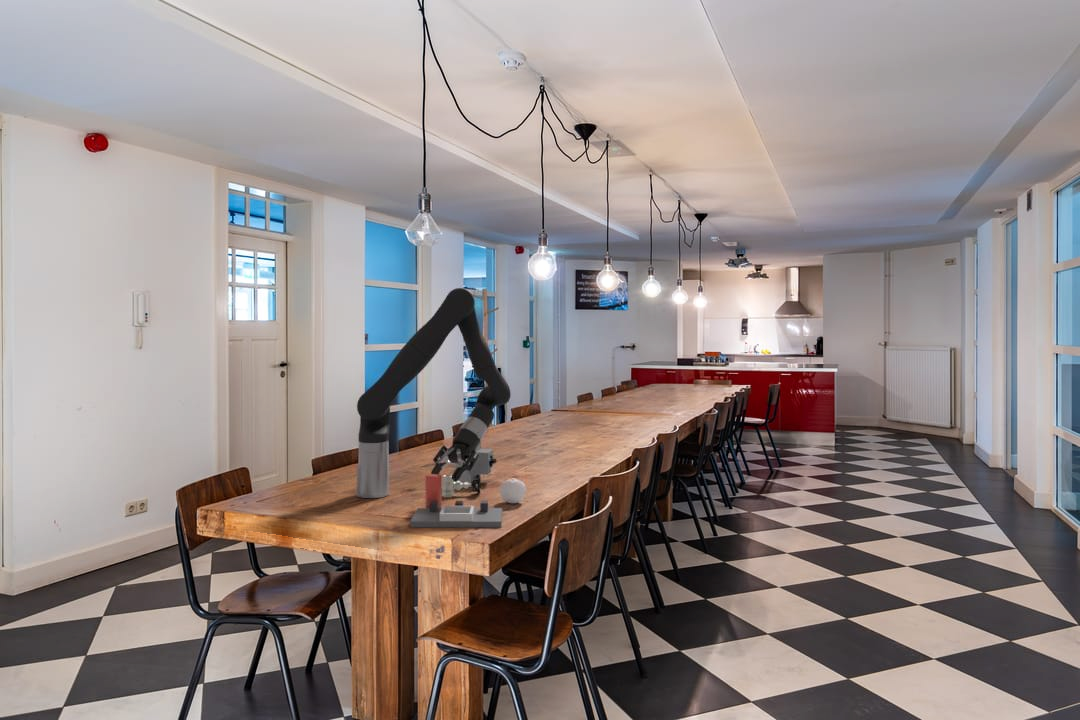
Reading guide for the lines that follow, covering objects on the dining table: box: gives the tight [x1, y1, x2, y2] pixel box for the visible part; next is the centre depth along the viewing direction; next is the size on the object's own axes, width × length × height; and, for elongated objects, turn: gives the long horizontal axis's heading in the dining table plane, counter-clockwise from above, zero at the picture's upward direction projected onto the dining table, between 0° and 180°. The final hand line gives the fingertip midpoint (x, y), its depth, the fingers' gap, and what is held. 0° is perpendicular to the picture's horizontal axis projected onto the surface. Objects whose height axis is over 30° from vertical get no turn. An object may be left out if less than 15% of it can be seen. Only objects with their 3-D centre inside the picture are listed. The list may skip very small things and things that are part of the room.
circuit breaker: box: [451, 441, 498, 484], centre depth 230 cm, size 8×14×15 cm, turn 81°
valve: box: [442, 474, 482, 498], centre depth 211 cm, size 7×7×12 cm
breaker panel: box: [409, 500, 503, 528], centre depth 182 cm, size 24×14×4 cm, turn 92°
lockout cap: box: [424, 473, 443, 508], centre depth 193 cm, size 5×5×10 cm
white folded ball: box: [499, 477, 527, 504], centre depth 202 cm, size 8×8×8 cm
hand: (443, 478), depth 195 cm, fingers open, 8 cm apart
